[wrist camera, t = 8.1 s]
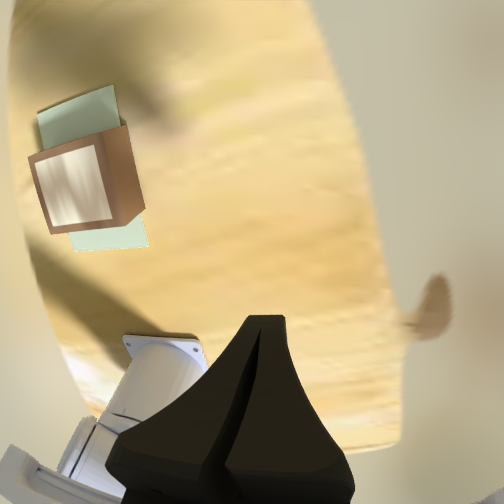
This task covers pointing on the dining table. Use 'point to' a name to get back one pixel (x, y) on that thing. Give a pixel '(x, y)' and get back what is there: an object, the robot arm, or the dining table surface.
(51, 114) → the sage mat
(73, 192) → the walnut frame
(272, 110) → the dining table surface
